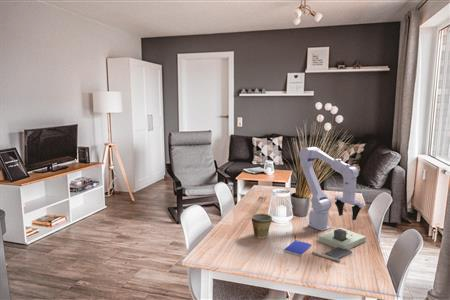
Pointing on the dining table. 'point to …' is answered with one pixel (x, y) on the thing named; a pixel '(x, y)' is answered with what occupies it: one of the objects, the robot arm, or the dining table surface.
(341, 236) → the grey rectangular block
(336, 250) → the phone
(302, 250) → the hard drive
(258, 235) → the ceramic cup
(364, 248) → the dining table surface
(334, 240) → the outlet plate
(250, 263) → the dining table surface
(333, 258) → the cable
